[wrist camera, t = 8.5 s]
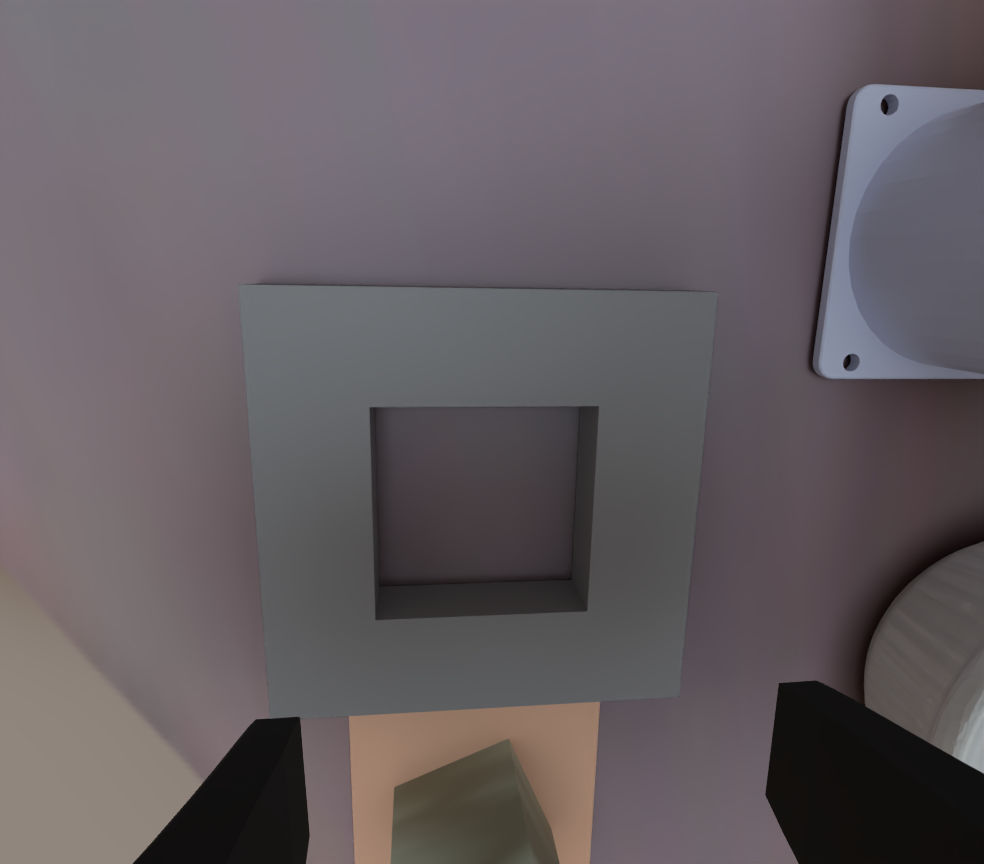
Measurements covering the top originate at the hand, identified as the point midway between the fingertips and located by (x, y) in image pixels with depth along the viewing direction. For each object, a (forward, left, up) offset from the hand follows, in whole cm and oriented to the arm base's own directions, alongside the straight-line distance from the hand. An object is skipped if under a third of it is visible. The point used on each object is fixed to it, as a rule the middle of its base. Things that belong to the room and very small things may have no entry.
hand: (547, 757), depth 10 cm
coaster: (0, +10, -10) cm, 15 cm away
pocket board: (0, -1, -10) cm, 10 cm away
